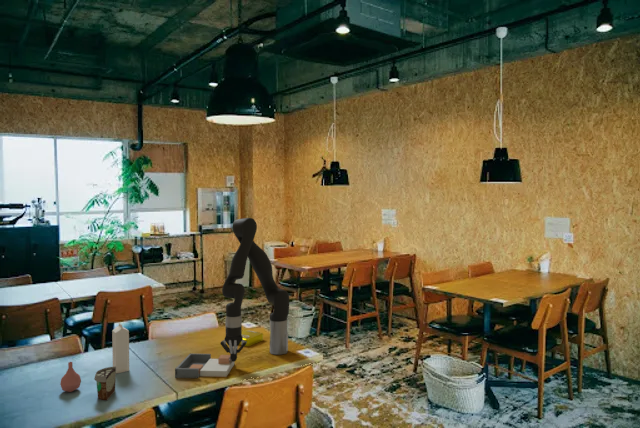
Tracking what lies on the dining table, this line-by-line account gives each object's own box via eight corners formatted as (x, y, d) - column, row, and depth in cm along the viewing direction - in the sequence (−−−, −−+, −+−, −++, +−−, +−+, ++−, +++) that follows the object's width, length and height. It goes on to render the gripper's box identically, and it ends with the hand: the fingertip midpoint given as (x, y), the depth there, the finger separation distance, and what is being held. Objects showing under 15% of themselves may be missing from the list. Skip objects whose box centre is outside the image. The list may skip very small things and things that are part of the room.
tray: (210, 361, 233) (210, 353, 232) (197, 378, 212) (197, 369, 212) (189, 361, 233) (189, 353, 233) (175, 377, 212) (174, 368, 212)
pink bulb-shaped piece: (59, 395, 192) (58, 366, 192) (61, 389, 199) (60, 360, 199) (80, 392, 195) (80, 364, 195) (81, 386, 202) (81, 358, 202)
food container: (101, 389, 199) (101, 366, 198) (116, 389, 199) (116, 366, 199) (89, 402, 186) (89, 377, 186) (105, 402, 187) (105, 377, 186)
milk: (115, 373, 217) (115, 326, 216) (112, 369, 222) (111, 323, 221) (129, 370, 220) (128, 324, 219) (126, 367, 225) (125, 321, 224)
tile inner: (231, 360, 228) (231, 354, 228) (228, 363, 223) (228, 358, 223) (221, 359, 228) (221, 354, 228) (218, 363, 223) (218, 358, 223)
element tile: (264, 340, 269) (264, 332, 269) (247, 347, 256) (247, 338, 256) (244, 336, 277) (244, 328, 277) (226, 343, 264) (226, 334, 264)
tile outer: (203, 369, 221) (203, 364, 220) (199, 373, 216) (199, 368, 215) (192, 369, 221) (192, 364, 221) (189, 373, 216) (189, 368, 216)
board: (234, 364, 230) (234, 359, 229) (226, 376, 214) (226, 371, 213) (210, 363, 230) (210, 358, 230) (200, 376, 214) (200, 370, 214)
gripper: (248, 323, 228) (248, 358, 229) (221, 322, 229) (221, 358, 229) (245, 327, 221) (245, 364, 221) (217, 326, 221) (218, 363, 222)
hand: (233, 360), depth 225 cm, fingers closed
